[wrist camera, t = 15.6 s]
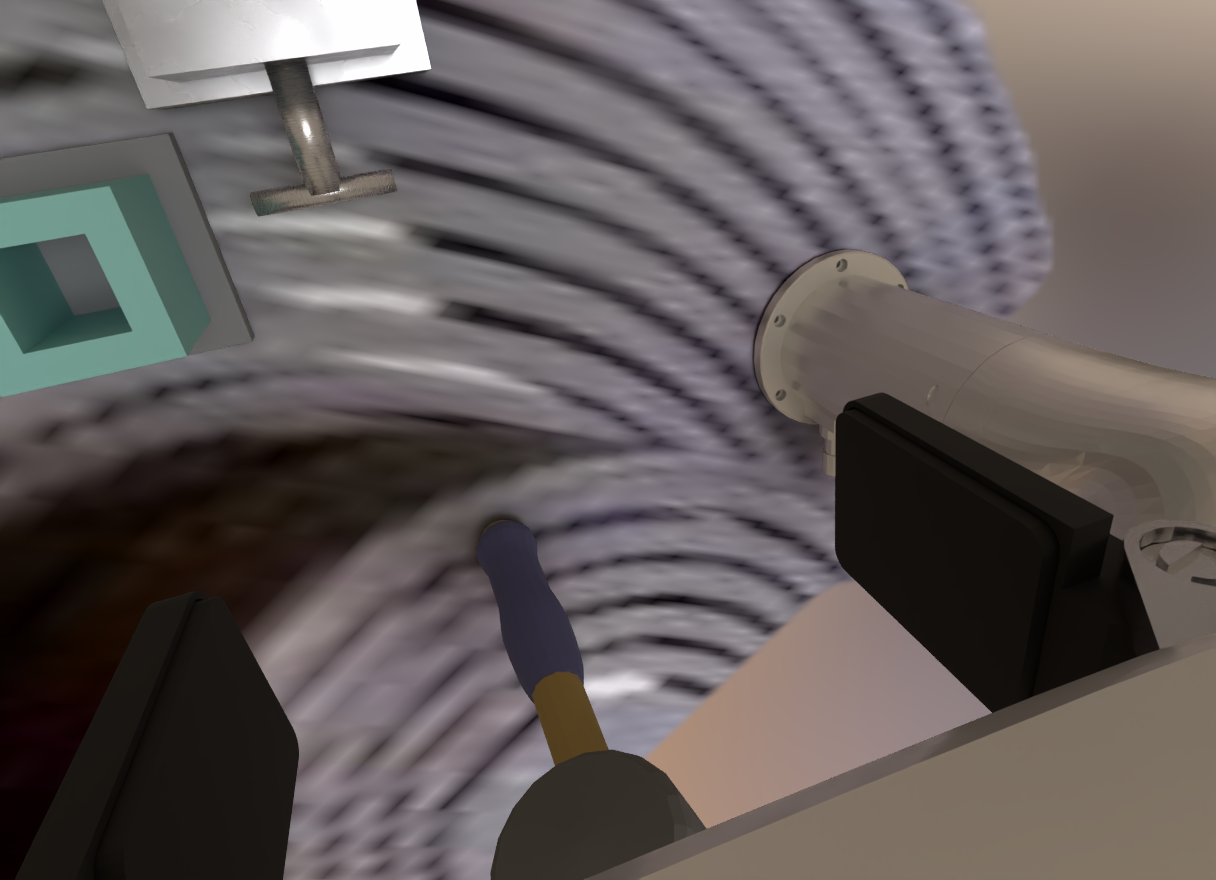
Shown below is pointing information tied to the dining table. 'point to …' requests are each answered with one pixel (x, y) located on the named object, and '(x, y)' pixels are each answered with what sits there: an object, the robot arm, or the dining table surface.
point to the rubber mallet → (569, 741)
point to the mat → (182, 208)
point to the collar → (134, 266)
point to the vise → (273, 69)
